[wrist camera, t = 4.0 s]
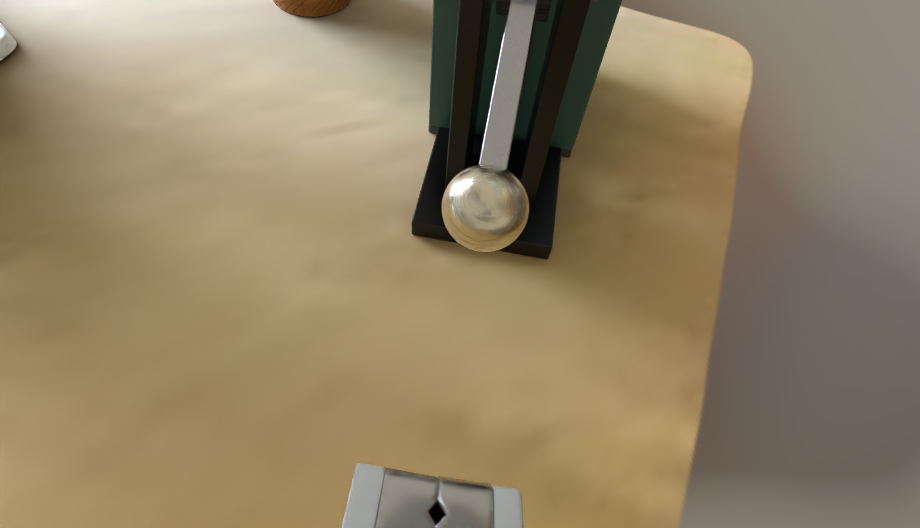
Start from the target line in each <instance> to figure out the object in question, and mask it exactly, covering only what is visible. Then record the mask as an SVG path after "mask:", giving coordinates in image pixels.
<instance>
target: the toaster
mask: <svg viewBox="0 0 920 528" xmlns="http://www.w3.org/2000/svg"><path fill="white" fill-rule="evenodd" d="M459 1H460V0H433V26H432V54H431V82H430V110H429V132H431V133H437V131H438V128H439V127H445V128H450V118H451V105H452V92H453V79H454V66H455V53H456V40H457V27H458V14H459ZM557 1H558V0H552V3H551V6H550V10H549V14H548V18H547V21H546V22H540V21H534V25H533V30H532V36H531V41H530V47H529V52H528V58H527V63H526V69H525V74H524V79H523V85H522V90H521V96H520V101H519V107H518V112H517V118H516V123H515V128H514V134H513V139H512V140H518V141H524V142H525V138H526V134H527V130H528V126H529V121H530V117H531V113H532V108H533V104H534V100H535V95H536V91H537V87H538V82H539V78H540V74H541V70H542V65H543V61H544V57H545V52H546V48H547V44H548V39H549V35H550V31H551V27H552V22H553V18H554V14H555V9H556V5H557ZM621 2H622V0H599V1H597V2H595V1H591V2H590V6H589V9H588V13H587V16H586V20H585V23H584V27H583V30H582V34H581V37H580V41H579V44H578V48H577V51H576V55H575V58H574V62H573V65H572V69H571V72H570V76H569V79H568V83H567V86H566V90H565V93H564V97H563V100H562V104H561V107H560V111H559V114H558V118H557V121H556V125H555V128H554V132H553V135H552V139H551V142H550V146H552V147H558V148H561V149H562V151H561V156H566V157H570V154H571V152H572V149H573V146H574V143H575V140H576V137H577V134H578V131H579V128H580V125H581V122H582V119H583V116H584V113H585V110H586V107H587V104H588V101H589V98H590V95H591V92H592V89H593V86H594V83H595V80H596V77H597V74H598V71H599V68H600V65H601V62H602V59H603V56H604V53H605V50H606V47H607V44H608V41H609V38H610V35H611V32H612V29H613V26H614V23H615V20H616V17H617V14H618V11H619V8H620V5H621ZM496 4H497V0H492V6H491V13H490V21H489V29H488V37H487V44H486V52H485V60H484V68H483V76H482V83H481V91H480V99H479V107H478V114H477V122H476V130H475V133H479V134H485V129H486V124H487V118H488V113H489V108H490V103H491V97H492V92H493V87H494V81H495V76H496V71H497V66H498V60H499V55H500V50H501V44H502V39H503V34H504V29H505V23H506V18H507V16H504V15H498V14H496Z"/></svg>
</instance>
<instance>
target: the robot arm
mask: <svg viewBox="0 0 920 528" xmlns="http://www.w3.org/2000/svg"><path fill="white" fill-rule="evenodd" d="M16 45H17V43H16V41H15V39H14V38H13V37H12V36H11V35H10V33H9V32H8V31H7V30H6V29H5V28H4V27H3V25H2V24H1V23H0V61H1V60H2V59H4V58H5V57H6V56H8V55H9V54H10V53H11V52H12V51H13V50H14V49H15V48H16ZM384 471H385V473H384ZM341 528H524V527H523V510H522V496H521V493H520V491H519V490H518V489H516V488H509V487H502V486H495V485H491V484H488V483H481V482H474V481H467V480H460V479H453V478H447V477H440V476H439V477H436V476H430V475H424V474H418V473H413V472H407V471H401V470H395V469H390V468H385V467H380V466H374V465H368V464H361V463H357V466H356V469H355V472H354V475H353V480H352V484H351V488H350V493H349V497H348V501H347V506H346V510H345V514H344V519H343V523H342V527H341Z"/></svg>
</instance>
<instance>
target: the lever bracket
mask: <svg viewBox="0 0 920 528" xmlns="http://www.w3.org/2000/svg"><path fill="white" fill-rule="evenodd" d="M591 1H595V2H597V1H599V0H558V1H557V5H556V9H555V14H554V18H553V22H552V27H551V31H550V35H549V39H548V44H547V48H546V52H545V57H544V61H543V65H542V70H541V74H540V78H539V82H538V87H537V91H536V95H535V100H534V104H533V108H532V113H531V117H530V121H529V126H528V130H527V134H526V138H525V142H524V141H518V140H512V145H511V150H510V156H509V161H508V167H507V170H508V171H510V172H511V173H513V174H514V175H515V176H516V177H517V178H518V179H519V180H520V182H521V183H522V185H523V186H524V188H525V191H526V193H527V196H528V200H529V215H528V219H527V223H526V225H525V228H524V229H523V231H522V233H521V234H520V235H519V237H518V238H517V239H516V240H515V241H513V242H512V243H511V244H510V245H508V246H506V247H504V248H502V249H500V251H505V252H511V253H516V254H522V255H527V256H532V257H538V258H543V259H548V257H549V255H550V252H551V249H552V243H553V233H554V223H555V212H556V202H557V192H558V182H559V172H560V161H561V151H562V149H561V148H558V147H552V146H550V142H551V139H552V135H553V132H554V128H555V125H556V121H557V118H558V114H559V111H560V107H561V104H562V100H563V97H564V93H565V90H566V86H567V83H568V79H569V76H570V72H571V69H572V65H573V62H574V58H575V55H576V51H577V48H578V44H579V41H580V37H581V34H582V30H583V27H584V23H585V20H586V16H587V13H588V9H589V6H590V2H591ZM491 6H492V0H460V1H459V14H458V27H457V40H456V53H455V66H454V79H453V92H452V105H451V118H450V128H445V127H439V128H438V131H437V135H436V139H435V142H434V146H433V149H432V153H431V156H430V160H429V163H428V167H427V170H426V174H425V177H424V181H423V184H422V188H421V191H420V195H419V198H418V202H417V206H416V209H415V213H414V216H413V220H412V234H413V235H418V236H424V237H429V238H435V239H440V240H446V241H451V242H456V243H458V242H457V241H456V240H455V239H454V238H453V237H452V236H451V235H450V233H449V232H448V230H447V228H446V226H445V224H444V221H443V217H442V199H443V196H444V193H445V190H446V188H447V186H448V185H449V183H450V182H451V180H452V179H453V178H454V177H455V176H456V175H457V174H459V173H460V172H461V171H463V170H465V169H466V168H469V167H471V166H475V165H479V161H480V155H481V150H482V145H483V140H484V134H479V133H475V130H476V122H477V114H478V107H479V99H480V91H481V83H482V76H483V68H484V60H485V52H486V44H487V37H488V29H489V21H490V13H491Z"/></svg>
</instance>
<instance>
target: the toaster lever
mask: <svg viewBox="0 0 920 528" xmlns="http://www.w3.org/2000/svg"><path fill="white" fill-rule="evenodd" d="M551 3H552V0H497V4H496V14H498V15H504V16H507V18H506V23H505V29H504V34H503V39H502V44H501V50H500V55H499V60H498V66H497V71H496V76H495V81H494V87H493V92H492V97H491V103H490V108H489V113H488V118H487V124H486V129H485V134H484V140H483V145H482V150H481V155H480V161H479V165H475V166H471V167H469V168H466V169H465V170H463V171H461V172H460V173H459V174H457V175H456V176H455V177H454V178H453V179H452V180H451V182H450V183H449V185H448V186H447V188H446V190H445V193H444V196H443V199H442V217H443V221H444V224H445V226H446V228H447V230H448V232H449V233H450V235H451V236H452V237H453V238H454V239H455V240H456V241H457V242H458V243H459V244H461V245H462V246H464V247H466V248H468V249H471V250H474V251H479V252H491V251H496V250H500V249H502V248H504V247H506V246H508V245H510V244H511V243H512V242H513V241H515V240H516V239H517V238H518V237H519V235H520V234H521V233H522V231H523V229H524V228H525V225H526V223H527V219H528V215H529V200H528V196H527V193H526V191H525V188H524V186H523V185H522V183H521V182H520V180H519V179H518V178H517V177H516V176H515V175H514V174H513V173H511V172H510V171H508V170H507V167H508V161H509V156H510V150H511V145H512V139H513V134H514V128H515V123H516V118H517V112H518V107H519V101H520V96H521V90H522V85H523V79H524V74H525V69H526V63H527V58H528V52H529V47H530V41H531V36H532V30H533V25H534V21H540V22H546V21H547V18H548V14H549V10H550V6H551Z"/></svg>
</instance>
